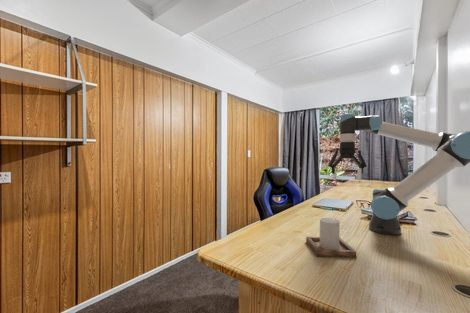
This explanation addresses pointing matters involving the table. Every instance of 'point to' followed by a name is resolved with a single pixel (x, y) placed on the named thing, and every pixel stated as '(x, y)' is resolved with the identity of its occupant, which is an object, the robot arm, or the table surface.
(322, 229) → the pale grey cylinder
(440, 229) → the table surface
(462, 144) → the robot arm
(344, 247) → the tray
